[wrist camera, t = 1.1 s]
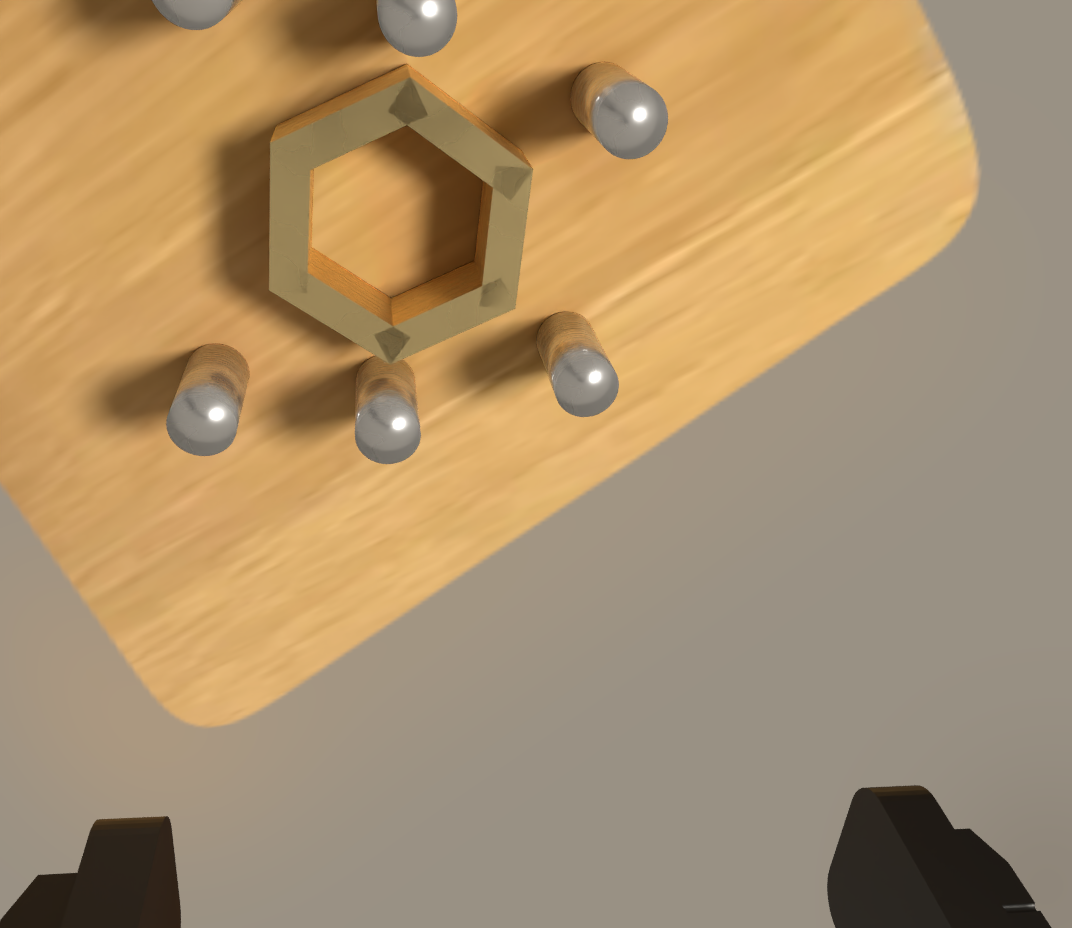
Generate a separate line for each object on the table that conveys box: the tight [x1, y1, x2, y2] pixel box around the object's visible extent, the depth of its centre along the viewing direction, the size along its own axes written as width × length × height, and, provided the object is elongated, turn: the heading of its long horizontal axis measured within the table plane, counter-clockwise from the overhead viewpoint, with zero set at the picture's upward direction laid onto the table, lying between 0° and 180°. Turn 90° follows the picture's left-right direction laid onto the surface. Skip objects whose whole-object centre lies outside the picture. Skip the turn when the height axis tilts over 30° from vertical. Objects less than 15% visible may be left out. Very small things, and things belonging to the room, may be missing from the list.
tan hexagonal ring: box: [269, 64, 533, 365], centre depth 31 cm, size 7×9×2 cm
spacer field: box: [152, 0, 668, 464], centre depth 30 cm, size 14×14×4 cm
